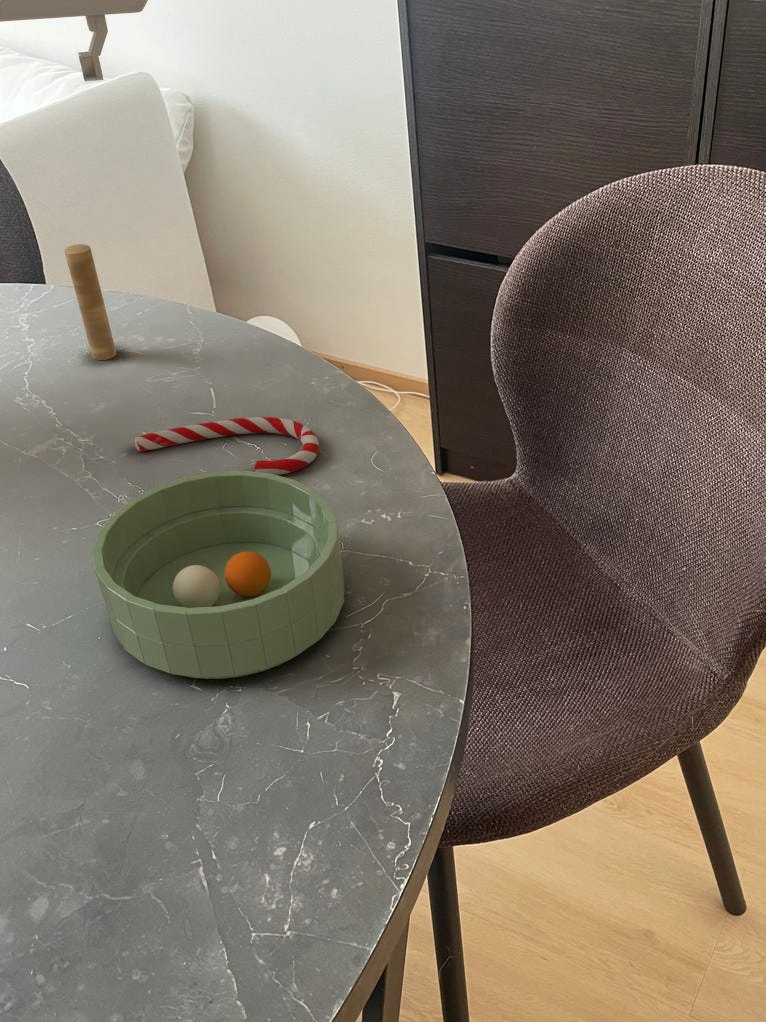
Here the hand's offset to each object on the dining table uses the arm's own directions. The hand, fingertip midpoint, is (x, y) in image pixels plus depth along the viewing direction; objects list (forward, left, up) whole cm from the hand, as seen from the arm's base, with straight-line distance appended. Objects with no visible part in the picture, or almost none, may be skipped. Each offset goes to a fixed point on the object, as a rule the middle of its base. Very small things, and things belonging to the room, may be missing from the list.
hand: (31, 84), depth 82 cm
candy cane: (+8, -21, -23) cm, 33 cm away
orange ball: (+7, -41, -21) cm, 46 cm away
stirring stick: (0, 0, -23) cm, 23 cm away
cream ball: (+3, -41, -21) cm, 46 cm away
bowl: (+5, -41, -23) cm, 47 cm away
